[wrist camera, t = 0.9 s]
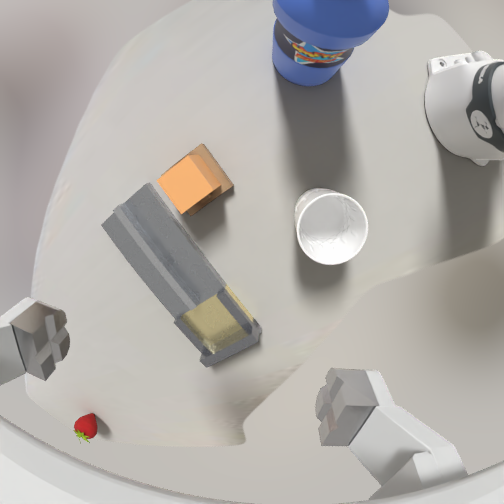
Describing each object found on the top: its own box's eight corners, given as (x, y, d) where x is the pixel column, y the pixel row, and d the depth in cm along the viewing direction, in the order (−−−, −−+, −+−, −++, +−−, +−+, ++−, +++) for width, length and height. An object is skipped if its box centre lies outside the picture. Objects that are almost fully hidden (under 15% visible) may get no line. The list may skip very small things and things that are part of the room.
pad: (203, 143, 38) (197, 143, 34) (233, 185, 39) (230, 188, 36) (164, 174, 39) (155, 176, 36) (193, 214, 41) (187, 219, 38)
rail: (149, 182, 40) (137, 186, 35) (261, 327, 46) (260, 344, 42) (105, 222, 42) (91, 230, 38) (213, 353, 49) (208, 370, 44)
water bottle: (275, 24, 31) (281, -96, 8) (341, 36, 31) (413, -62, 8) (266, 81, 34) (264, -16, 11) (335, 93, 34) (422, 26, 11)
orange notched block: (171, 176, 38) (156, 180, 33) (199, 154, 37) (188, 155, 32) (192, 205, 39) (181, 214, 34) (221, 184, 38) (213, 190, 33)
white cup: (299, 246, 42) (308, 274, 32) (282, 193, 39) (286, 206, 30) (351, 229, 40) (374, 252, 31) (336, 176, 38) (358, 184, 29)
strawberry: (108, 417, 59) (94, 446, 49) (96, 424, 60) (82, 450, 51) (90, 403, 57) (73, 430, 48) (79, 410, 59) (64, 436, 50)
